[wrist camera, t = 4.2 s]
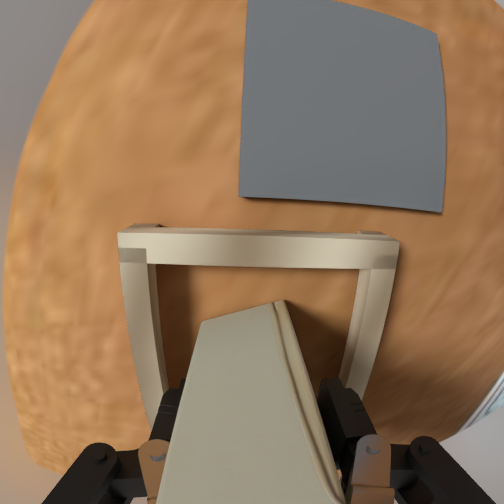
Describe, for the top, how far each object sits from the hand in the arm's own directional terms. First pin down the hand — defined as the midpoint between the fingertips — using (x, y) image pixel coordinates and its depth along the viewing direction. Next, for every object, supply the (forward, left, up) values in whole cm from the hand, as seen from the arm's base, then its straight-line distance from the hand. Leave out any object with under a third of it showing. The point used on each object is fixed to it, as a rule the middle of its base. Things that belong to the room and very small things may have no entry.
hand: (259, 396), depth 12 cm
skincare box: (0, 0, -3) cm, 3 cm away
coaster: (-4, -13, -3) cm, 14 cm away
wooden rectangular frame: (0, 0, -3) cm, 3 cm away
